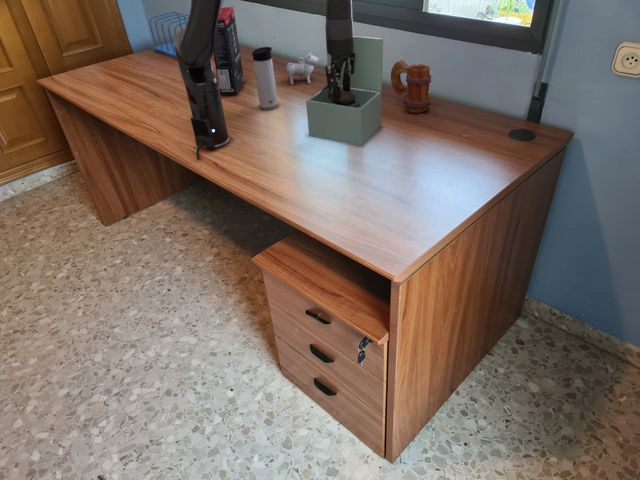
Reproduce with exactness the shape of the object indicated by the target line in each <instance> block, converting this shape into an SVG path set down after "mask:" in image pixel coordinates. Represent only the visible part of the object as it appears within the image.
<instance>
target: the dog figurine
mask: <svg viewBox="0 0 640 480" xmlns="http://www.w3.org/2000/svg"><path fill="white" fill-rule="evenodd" d="M319 59H320V58H319V56H315V55H313V54H312V52H311V51H309V52H308V53H307V54H305V56H304V57H302V56H299V57H297V62H295V63H294V62H287V64H286V68H285V71H286V73H287V75H288V78H289V79H288V80H289V83H290V85H294V84H295V82H294V77H295V76H299V75H300V76H304V77H305V78H306V82H307V84H311V80H310V79H311V78H310V76H311V74H312V72H314V71H313V70H314V68H315V66H314V65H317V64H318V63H319Z"/></svg>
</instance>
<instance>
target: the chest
mask: <svg viewBox="0 0 640 480" xmlns="http://www.w3.org/2000/svg"><path fill="white" fill-rule="evenodd" d="M340 88H341V90H342V91H343V86H342V85H340ZM321 91H322V89H320V90H319V91H317V92H316V93H315V94H313V95H312V96H310V97H309V98H307V100H305V101H306V102H305V104H306V105H305V106H306V114H307V127H308V136H310V137H316V138H319V139H323V140H324V139H325V140H330V141H334V142H340V143H345V144H349V145H355V146H356V145H357V146H360V147H361V146H363V145H364V144H365V143H366V141H368V140H369V139H370V138H371V137H372V136H373V135H374V134H375V133H377V131H378V130H380V129H381V127H382V91H377V90H370V89H363V88H356V87H350V91H349V92H351V93H353V94H354V95H355V100H356V101H355V102H357V103H360V106H358V107H348V106H342V105H336V104H337V103H333V102H332V101H331V100H330V98H329V97H328V92H329V88H327V89H325V90H324V91H322V93H321V94H320V92H321ZM332 91H333V87H332V89H331V92H332ZM331 92H330V93H331ZM319 95H320V97H319Z"/></svg>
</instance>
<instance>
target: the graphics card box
mask: <svg viewBox="0 0 640 480" xmlns="http://www.w3.org/2000/svg"><path fill="white" fill-rule="evenodd" d="M234 9H235V8H234V7H233V6H227V7H221V10H220V13H219V17H218V22H217V28H216V35H215V43H214V50H213V55H212V56H213V61H214V66H215V73H216V77H217V81H218V86H219V91H220V96H237V95H238V93H239V91H240V89H241V87H242V85H243V83H244V80H245V78H244V71H243V64H242V63H243V62H242V59H241V58H242V57H241V51H240V49H241V48H240V44H239V37H238V30H237V24H236V23H237V22H236V16H235V10H234Z"/></svg>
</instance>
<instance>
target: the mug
mask: <svg viewBox="0 0 640 480" xmlns="http://www.w3.org/2000/svg"><path fill="white" fill-rule="evenodd" d="M430 68H431V67H430V66H429V65H426V64H424V63H418V64H415V63H414V64H411V65H408V64H407V63H406V61H405V60H403V59H400V60H398V61H395V63H394V64H393V66H392V67H391V70H390V83H391V86H392V88H393V90H394V92H395V93H396V94H395V95H397V96H401V95H403V94H405V93H406V94H405V95H404V96H403V101H402V103H403V104H404V109H405V110H406V111H408V113H412V114H419V113H423V112H426V110H428V107H429V106H430V105H431V103H430V100H431V98H430V97H429V94H430V93H429V91H430V84H431V82H432V75H431V73H430V70H431V69H430ZM402 74H406V76H405V77H406V78H405V82H406V85H404V84H403V82H402V78H401V75H402Z"/></svg>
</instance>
